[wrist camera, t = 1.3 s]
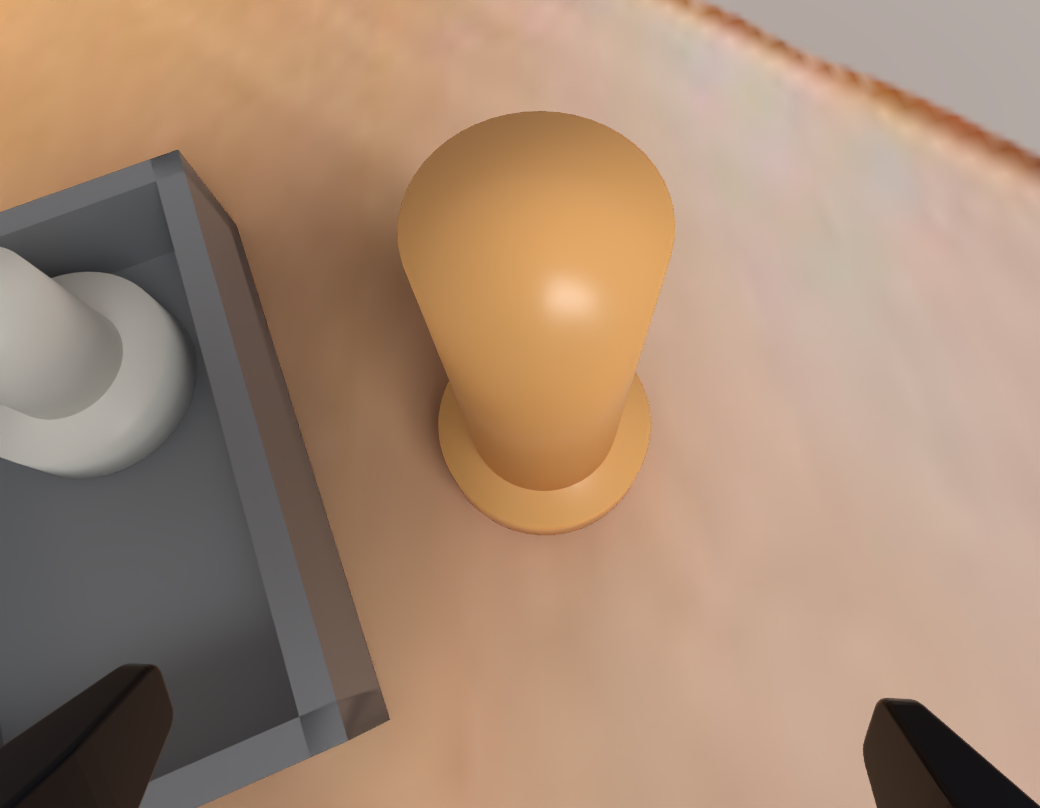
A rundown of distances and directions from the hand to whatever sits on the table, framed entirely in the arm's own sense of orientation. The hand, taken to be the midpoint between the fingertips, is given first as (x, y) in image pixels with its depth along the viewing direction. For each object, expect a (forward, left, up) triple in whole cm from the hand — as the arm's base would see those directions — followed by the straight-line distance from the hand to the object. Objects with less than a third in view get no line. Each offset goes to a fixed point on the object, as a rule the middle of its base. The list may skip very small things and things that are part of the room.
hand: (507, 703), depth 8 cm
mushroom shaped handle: (+6, -5, -14) cm, 16 cm away
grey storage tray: (+12, +9, -14) cm, 20 cm away
